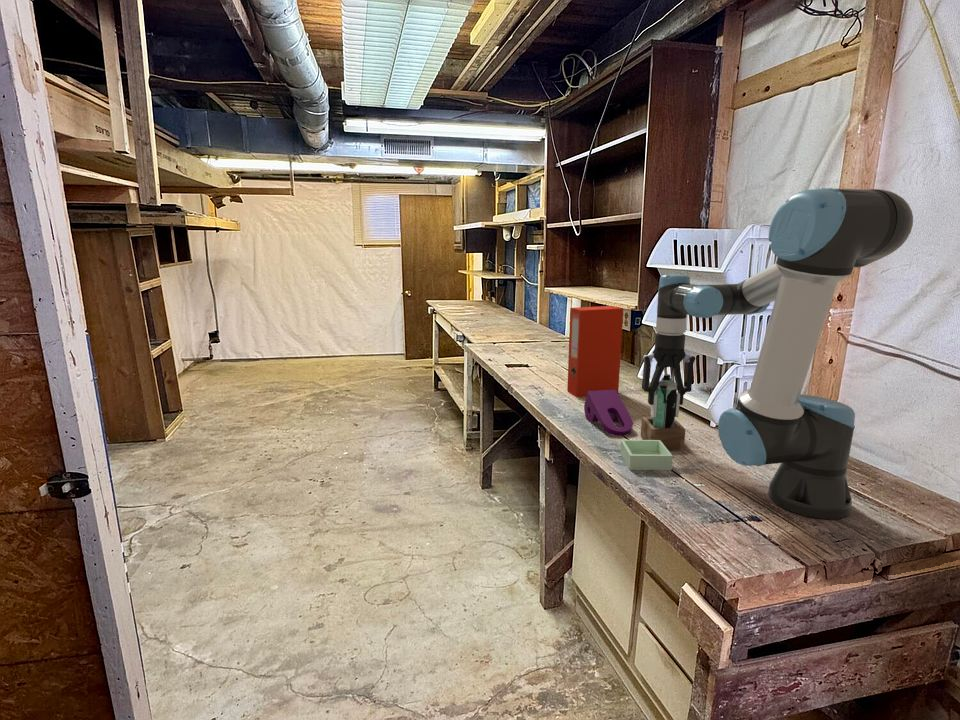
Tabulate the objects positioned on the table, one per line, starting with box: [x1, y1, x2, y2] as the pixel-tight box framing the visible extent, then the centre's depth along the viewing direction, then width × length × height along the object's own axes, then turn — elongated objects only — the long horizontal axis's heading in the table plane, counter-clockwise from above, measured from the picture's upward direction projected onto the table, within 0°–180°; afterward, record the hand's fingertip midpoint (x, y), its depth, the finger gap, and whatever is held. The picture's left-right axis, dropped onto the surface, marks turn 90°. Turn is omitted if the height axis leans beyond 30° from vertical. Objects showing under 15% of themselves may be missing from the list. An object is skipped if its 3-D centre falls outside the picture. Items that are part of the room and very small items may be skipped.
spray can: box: [653, 373, 678, 428], centre depth 142 cm, size 6×6×20 cm
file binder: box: [566, 305, 624, 398], centre depth 190 cm, size 8×17×32 cm, turn 108°
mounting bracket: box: [583, 390, 634, 437], centre depth 159 cm, size 9×8×18 cm
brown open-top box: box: [640, 415, 686, 451], centre depth 145 cm, size 12×9×6 cm
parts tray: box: [619, 439, 674, 471], centre depth 132 cm, size 10×10×4 cm
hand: (664, 415), depth 142 cm, fingers closed on spray can, 5 cm apart
